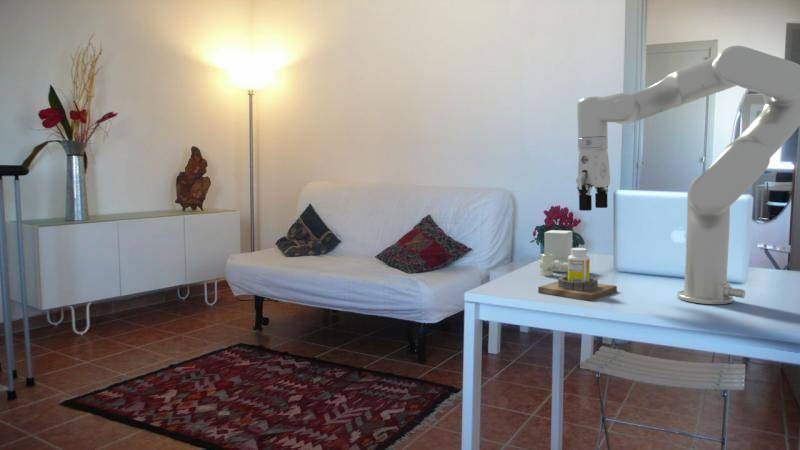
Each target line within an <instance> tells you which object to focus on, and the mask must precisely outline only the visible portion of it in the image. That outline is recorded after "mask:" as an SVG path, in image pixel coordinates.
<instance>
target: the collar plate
mask: <svg viewBox="0 0 800 450" xmlns="http://www.w3.org/2000/svg"><path fill="white" fill-rule="evenodd" d="M537 288H538V289H537V291H538V292H537V293H539V294H545V295H552V296H559V297H563V298H569V299H570V298H571V299H577V300H584V301H589V302H591V301H594V300H597V299H600V298H602V297H605V296H608V295H611V294H614V293H616V292H618V291H617V290H618V289H617V288H618V286H616V285H611V284H607V283H606V284H605V283H598V279H597V278H596V277H592V276H589V282H571V281H568V275H564V276H559V277H558V281H554V282H551V283H547V284H544V285H541V286H538V287H537Z"/></svg>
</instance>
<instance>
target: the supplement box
mask: <svg viewBox="0 0 800 450" xmlns="http://www.w3.org/2000/svg"><path fill="white" fill-rule="evenodd" d="M543 235H544V244H543V245H544V247H543V248H544V249H543V250H544V252H543V254H553V260H552V261H556V260H558V261H559V262H561V263H562V264H563V262H566V263H568V257H569V256H570V255H571V249H572V248H573V230H558V229H557V230H556V229H555V230H554V229H551V230H547V231H545V232H544V233H543ZM552 270H553V272H560V273H568V269H563V267H561V268H559V270H555V269H552Z"/></svg>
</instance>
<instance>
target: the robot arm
mask: <svg viewBox="0 0 800 450" xmlns="http://www.w3.org/2000/svg"><path fill="white" fill-rule="evenodd" d="M737 86H738V87H740V88H743V89H747V90H748V91H750V92H754V93H757V94H760V95H761V96H762V98H763V101H764V105H763V108H762V111H761V112H760V113H759V114H758V116H757V117H756V118H755V119H754V120H753V121H752V122H751V123H750V125H748V126H747V128H746V129H744V130H743V132H742V133H741V134H740V135H739V136H738V137H737V138H736V139H735V140H733V141H732V142H730V143H729V144H728V145H727V146H726V148H724V150H723V152H722V153H721V154H720V155H719V156H718V157H717V158H716V159H715V160H714V161H713V162H712V163H711V164H710V165H709V166H708V167H707V168H706V169H705V170H704V171H703V172H702V173H701V175H698V176H696V177H695V178H694V179H693V180H692V181H691V182H690V184H689V185H688V188H687V197H686V199H687V201H686V204H687V207H686V208H687V210H686V211H687V212H686V213H687V214H686V236H685V238H686V239H685V265H684V287H683V289H684V290H683V289H682V290H679V291H678V292H677V295H676V296H677V298H678V299H680V300H681V301H686V302H688V303H697V304H703V305H726V304H730V303H733V301H734V297H735V298H741V299H745V298H746V290H745V289H743V288H737V287H736V288H734V287H732V286H731V282H729V281H728V265H729V264H728V263H729V262H728V261H729V259H728V258H729V241H730V240H729V239H730V222H731V221H730V219H731V216H730V212H731V206H732V205H733V204H734V203H735V202H736V201H737V200H738V199H740V197H741V196H743V194H744V193H745V192H746V191H747V190H748V189H749V188H751V186H752V185H753V184H754V183H755V182H756V181H758V180H759V178H761V177H762V175H764V173H765V172H766V170H767V169H768V167H769V166H770V165H769V164H770V161H771V158H772V157H773V156H774V154H776V153H777V151H779V150H780V149H781V147H782V146H783V145H784V144H785V143H786V142H787V141H788V140H789V139H790V138H791V137H792V135H794V133H795V132H796V131H797V129H798V128H799V126H800V64H799V63H797V62H794V61H792V60H788V59H785V58H783V57H782V58H781V57H779V56H775V55H771V54H770V53H769V54H768V53H765V52H762V51H759V50H756V49H754V48H750V47H748V46H743V45H732V46H728V47H726V48H724V49H722V51H720V52H719V53H718V54H717V55H715V56H711V57H710V58H707V59H705V60H701V61H699V62H696V63H694V64H692V65H689V66H685V67H683V68H680V69H677V70H674V72H670V73H669V74H667V76H666V77H664V78H662V79H661V80H660V81H658V82H657V83H654V84H653V85H650V86H648V87H646V88H643V89H641V90H638V91H636V92H632V93H626V92H620V93H614V94H611V95H605V96H588V97H587V96H586V97H583V98H580V99H579V100H578V101H577V104H576V106H577V108H576V109H577V115H576V117H577V151H578V162H577V163H578V164H577V165H578V167H577V178H575V179H576V180H575V181H576V185H577V188H576V189H577V190H578V192H577V194H578V207H579V208H578V209H579V211H586V212H587V211H588V212H589V211H592V210H593V209H592V207H593V205H592V203H593V202H592V199H593V198H592V194H591V192H592V188H593V187H594V189H595V191H596V192H595V194H594V196H595V201H594V202H595V208H596V209H607V208H608V192H609V186H610V184H611V173H610V172H611V171H610V160H609V154H608V123H616V124H619V125H629V124H632V123H636V122H638V121H641V120H644V119H646V118H649V117H652V116H655V115H658V114H661V113H663V112H665V111H669V110H672V109H675V108H679V107H681V106H683V105H685V104H690V103H692V102H695V101H698V100H699V99H702V98H705V97H709V96H711V95H715V94H716V93H720V92H724V91H725V90H728V89H731V88H734V87H737Z"/></svg>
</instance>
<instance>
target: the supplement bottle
mask: <svg viewBox="0 0 800 450" xmlns="http://www.w3.org/2000/svg"><path fill="white" fill-rule="evenodd" d="M587 250H588V249H587V248H583V247H572V249H571V255H570V256H569V257H568V271H567V276H568V281H571V282H589V277H590V259H591V258H590V257H589V256H588V255H587V253H588V252H587Z"/></svg>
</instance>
